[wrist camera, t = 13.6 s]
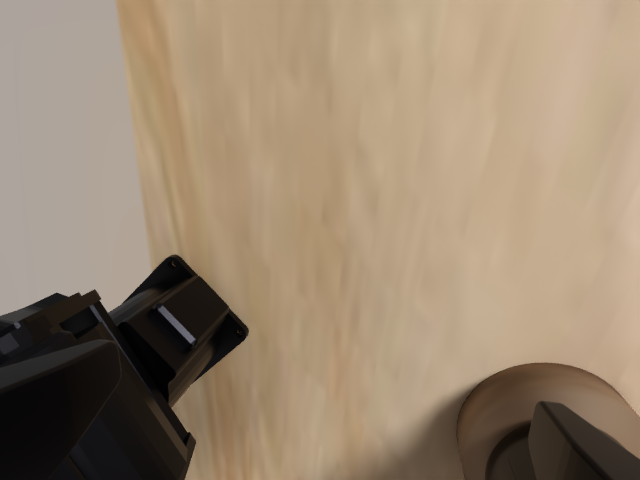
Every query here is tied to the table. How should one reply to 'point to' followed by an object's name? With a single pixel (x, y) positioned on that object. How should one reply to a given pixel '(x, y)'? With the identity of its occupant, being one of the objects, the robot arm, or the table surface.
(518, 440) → the supplement bottle
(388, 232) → the table surface
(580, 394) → the walnut stand
